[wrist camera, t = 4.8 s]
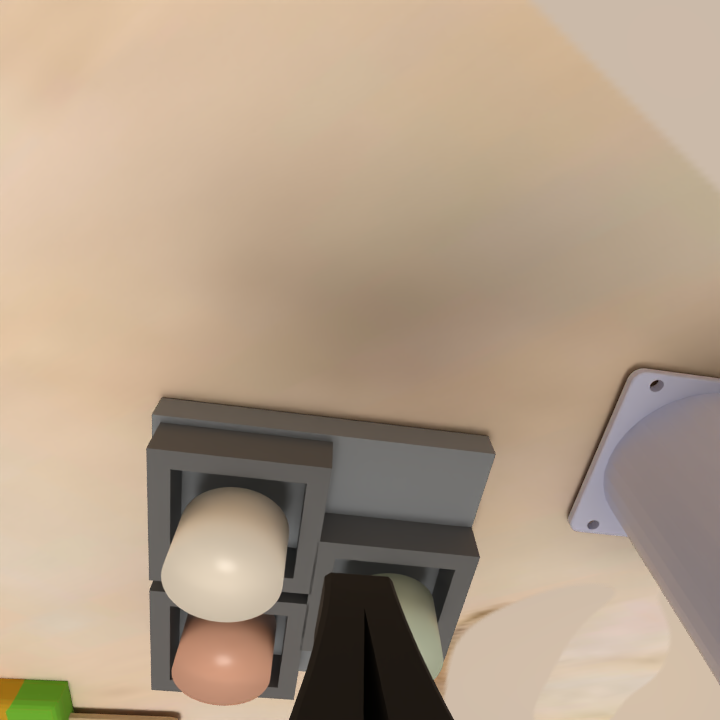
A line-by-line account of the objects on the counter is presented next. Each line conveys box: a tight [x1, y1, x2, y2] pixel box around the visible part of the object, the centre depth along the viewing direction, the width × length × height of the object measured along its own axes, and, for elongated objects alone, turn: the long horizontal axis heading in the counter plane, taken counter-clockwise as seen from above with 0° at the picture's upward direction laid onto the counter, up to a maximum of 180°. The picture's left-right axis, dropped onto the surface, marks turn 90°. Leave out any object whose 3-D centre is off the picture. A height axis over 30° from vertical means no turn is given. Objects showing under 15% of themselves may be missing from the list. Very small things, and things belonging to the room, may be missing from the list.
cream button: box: [161, 487, 289, 622], centre depth 19 cm, size 4×4×2 cm
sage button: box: [373, 573, 443, 680], centre depth 22 cm, size 4×4×2 cm
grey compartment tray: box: [146, 398, 496, 700], centre depth 24 cm, size 13×14×3 cm
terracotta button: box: [172, 613, 277, 705], centre depth 24 cm, size 4×4×2 cm
